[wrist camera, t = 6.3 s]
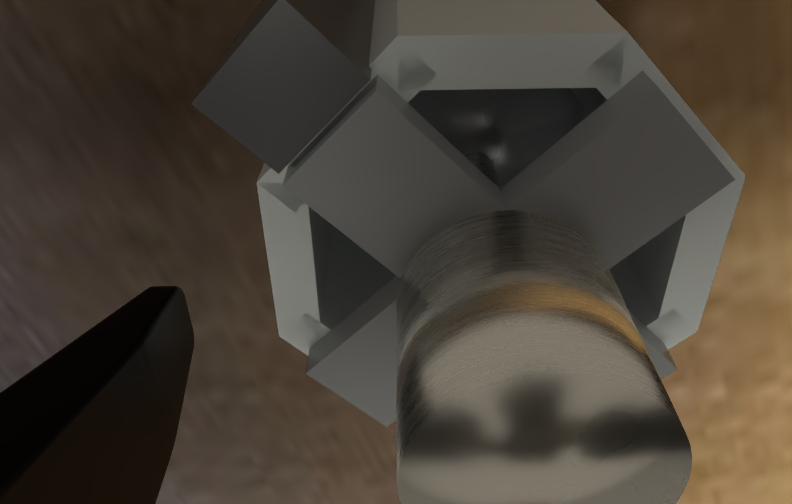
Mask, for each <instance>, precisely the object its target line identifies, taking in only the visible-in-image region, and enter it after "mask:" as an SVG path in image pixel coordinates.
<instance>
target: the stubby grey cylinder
mask: <svg viewBox="0 0 792 504" xmlns="http://www.w3.org/2000/svg"><path fill="white" fill-rule="evenodd" d="M408 103H409V104H410V105H411V106H412V107H413V108H414V109H415V110H416V111H417V112H418V113H419V114H420V115H421V116H422V117H423V118H425V119H426V120H427V121H428V122H429V123H430V124H431V125H432V126H433V127H434V128H435V129H436V130H437V131H438V132H439V133H440V134H442V135H443V136H444V137H445V138H446V139H447V140H448V141H449V142H450V143H451V144H452V145H453V146H454V147H455V148H456V149H458V150H459V151H460V152H461V153H462V154H463V155H464V156H465V157H466V158H467V159H468V160H469V161H470V162H471V163H472V164H474V165H475V166H476V167H477V168H478V169H479V170H480V171H481V172H482V173H483V174H484V175H485V176H486V177H487V178H488V179H489V180H491V181H492V182H493V183H494V184H495V185H496V186H497V187H498V188H499V189H501V188H502V187H503V186H505V185H506V184H507V183H508V182H509V181H511V180H512V179H513V178H514V177H515V176H517V175H518V174H519V173H520V172H521V171H523V170H524V169H525V168H526V167H527V166H529V165H530V164H531V163H532V162H533V161H535V160H536V159H537V158H538V157H539V156H541V155H542V154H543V153H544V152H545V151H547V150H548V149H549V148H550V147H551V146H553V145H554V144H555V143H556V142H557V141H559V140H560V139H561V138H562V137H563V136H565V135H566V134H567V133H568V132H569V131H571V130H572V129H573V128H574V127H575V126H577V125H578V124H579V123H580V122H581V121H583V120H584V119H585V118H586V117H587V113H586V111H585V109H584V108H583V106H582V104H581V102H580V100H579V99H578V97H577V95H576V94H575V92H574V91H573V89H572V88H539V89H468V90H420V91H419V92H418V93H417V94H416V95H415V96H414V97H413V98H412V99H411V100H410V101H409V102H408ZM396 405H397V490H398V497H399V500H400V503H401V504H676V502H677V501H678V499H679V498H680V496H681V495H682V493H683V491H684V489H685V487H686V485H687V483H688V480H689V476H690V472H691V467H692V453H691V447H690V443H689V440H688V438H687V435H686V433H685V430H684V428H683V426H682V424H681V422H680V420H679V418H678V416H677V413H676V411H675V409H674V407H673V405H672V403H671V401H670V398H669V396H668V394H667V392H666V390H665V388H664V386H663V383H662V381H661V379H660V377H659V375H658V373H657V371H656V368H655V366H654V364H653V362H652V360H651V358H650V356H649V353H648V351H647V349H646V347H645V345H644V343H643V341H642V338H641V336H640V334H639V332H638V330H637V328H636V326H635V323H634V321H633V319H632V317H631V315H630V313H629V311H628V308H627V306H626V304H625V302H624V300H623V298H622V296H621V293H620V291H619V289H618V287H617V285H616V283H615V281H614V279H613V276H612V274H611V272H610V270H609V268H608V266H607V264H606V261H605V259H604V257H603V256H602V254H601V252H600V251H599V249H598V248H597V246H596V245H595V244H594V243H593V242H592V241H591V239H590V238H589V237H587V236H586V235H585V234H584V233H583V232H581V231H580V230H579V229H577V228H576V227H574V226H572V225H571V224H569V223H567V222H565V221H562V220H560V219H558V218H556V217H552V216H549V215H545V214H542V213H536V212H530V211H516V210H509V211H495V212H490V213H484V214H480V215H476V216H473V217H470V218H466V219H464V220H462V221H459V222H457V223H455V224H452V225H451V226H449V227H447V228H445V229H444V230H442V231H440V232H439V233H437V234H436V235H435V236H433V237H432V238H431V239H429V240H428V241H427V242H426V243H425V244H424V245H423V246H422V247H421V248H420V249H419V250H418V251H417V252H416V253H415V254H414V256H413V257H412V258H411V259H410V261H409V263H408V264H407V266H406V268H405V269H404V271H403V274H402V276H401V279H400V281H399V285H398V290H397V297H396Z"/></svg>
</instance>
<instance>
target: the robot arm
mask: <svg viewBox="0 0 792 504" xmlns="http://www.w3.org/2000/svg"><path fill="white" fill-rule="evenodd" d="M193 348H194V333H193V328H192V324H191V320H190V315H189V311H188V307H187V303H186V299H185V295H184V293H183V291H182V289H181V288H179V287H177V286H155V287H150V288H148V289H146V290H145V291H143V292H142V293H141V294H139V295H138V296H136V297H135V298H134V299H132V300H131V301H129V302H128V303H126V304H125V305H124V306H122V307H121V308H119V309H118V310H117V311H115V312H114V313H112V314H111V315H110V316H108V317H107V318H105V319H104V320H102V321H101V322H100V323H98V324H97V325H95V326H94V327H93V328H91V329H90V330H88V331H87V332H86V333H84V334H83V335H81V336H80V337H79V338H77V339H76V340H74V341H73V342H71V343H70V344H69V345H67V346H66V347H64V348H63V349H62V350H60V351H59V352H57V353H56V354H55V355H53V356H52V357H50V358H49V359H47V360H46V361H45V362H43V363H42V364H40V365H39V366H38V367H36V368H35V369H33V370H32V371H31V372H29V373H28V374H26V375H25V376H23V377H22V378H21V379H19V380H18V381H16V382H15V383H14V384H12V385H11V386H9V387H8V388H7V389H5V390H4V391H2V392H1V393H0V504H155V503H156V500H157V497H158V494H159V491H160V488H161V485H162V482H163V479H164V476H165V473H166V469H167V466H168V463H169V460H170V457H171V453H172V450H173V447H174V443H175V439H176V434H177V430H178V425H179V420H180V414H181V409H182V404H183V399H184V394H185V389H186V384H187V379H188V374H189V369H190V364H191V358H192V353H193Z"/></svg>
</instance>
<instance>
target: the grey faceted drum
mask: <svg viewBox="0 0 792 504" xmlns="http://www.w3.org/2000/svg"><path fill="white" fill-rule="evenodd" d="M539 88H572V89H573V91H574V92H575V94H576V95H577V97H578V99H579V100H580V102H581V104H582V106H583V108H584V109H585V111H586V113H587V117H586V118H585V119H584V120H583V121H581V122H580V123H579V124H578V125H577V126H575V127H574V128H573V129H572V130H571V131H569V132H568V133H567V134H566V135H565V136H563V137H562V138H561V139H560V140H559V141H557V142H556V143H555V144H554V145H553V146H551V147H550V148H549V149H548V150H547V151H545V152H544V153H543V154H542V155H541V156H539V157H538V158H537V159H536V160H535V161H533V162H532V163H531V164H530V165H529V166H527V167H526V168H525V169H524V170H523V171H521V172H520V173H519V174H518V175H517V176H515V177H514V178H513V179H512V180H511V181H509V182H508V183H507V184H506V185H505V186H503V187H502V188H501V189H499V188H498V187H497V186H496V185H495V184H494V183H493V182H492V181H491V180H489V179H488V178H487V177H486V176H485V175H484V174H483V173H482V172H481V171H480V170H479V169H478V168H477V167H476V166H475V165H474V164H472V163H471V162H470V161H469V160H468V159H467V158H466V157H465V156H464V155H463V154H462V153H461V152H460V151H459V150H458V149H456V148H455V147H454V146H453V145H452V144H451V143H450V142H449V141H448V140H447V139H446V138H445V137H444V136H443V135H442V134H440V133H439V132H438V131H437V130H436V129H435V128H434V127H433V126H432V125H431V124H430V123H429V122H428V121H427V120H426V119H425V118H423V117H422V116H421V115H420V114H419V113H418V112H417V111H416V110H415V109H414V108H413V107H412V106H411V105H410V104H409V103H408V102H409V101H410V100H411V99H412V98H413V97H414V96H415V95H416V94H417V93H418V92H419V91H420V90H468V89H539ZM191 105H192V106H194V107H195V108H196V109H197V110H199V111H200V112H201V113H202V114H204V115H205V116H206V117H208V118H209V119H210V120H211V121H213V122H214V123H215V124H216V125H218V126H219V127H220V128H221V129H223V130H224V131H225V132H226V133H228V134H229V135H230V136H231V137H233V138H234V139H235V140H236V141H238V142H239V143H240V144H242V145H243V146H244V147H245V148H247V149H248V150H249V151H250V152H252V153H253V154H254V155H255V156H257V157H258V158H259V159H260V160H262V161H263V162H264V164H263V166H262V169H261V172H260V174H259V177H258V180H257V190H258V197H259V203H260V210H261V217H262V224H263V231H264V237H265V244H266V251H267V258H268V264H269V271H270V278H271V285H272V292H273V298H274V305H275V312H276V319H277V326H278V332H279V337H281V338H282V339H284V340H285V341H287V342H288V343H290V344H291V345H293V346H294V347H296V348H297V349H299V350H300V351H302V352H303V353H304V354H306V355H307V356H308V361H307V368H306V374H307V375H308V376H310V377H311V378H313V379H314V380H316V381H318V382H319V383H321V384H322V385H324V386H325V387H327V388H328V389H330V390H331V391H333V392H334V393H336V394H337V395H339V396H340V397H342V398H343V399H345V400H346V401H348V402H349V403H351V404H352V405H354V406H356V407H357V408H359V409H360V410H362V411H363V412H365V413H366V414H368V415H369V416H371V417H372V418H374V419H375V420H377V421H378V422H380V423H381V424H383V425H384V426H386V427H388V426H389V425H390V424H392V423H393V422H395V421H396V420H397V405H396V297H397V290H398V285H399V281H400V279H401V276H402V274H403V271H404V269H405V268H406V266H407V264H408V263H409V261H410V259H411V258H412V257H413V256H414V254H415V253H416V252H417V251H418V250H419V249H420V248H421V247H422V246H423V245H424V244H425V243H426V242H427V241H428V240H429V239H431V238H432V237H433V236H435V235H436V234H437V233H439V232H440V231H442V230H444V229H445V228H447V227H449V226H451V225H452V224H455V223H457V222H459V221H462V220H464V219H466V218H470V217H473V216H476V215H480V214H484V213H490V212H495V211H509V210H516V211H530V212H536V213H542V214H545V215H549V216H552V217H556V218H558V219H560V220H562V221H565V222H567V223H569V224H571V225H572V226H574V227H576V228H577V229H579V230H580V231H581V232H583V233H584V234H585V235H586V236H587V237H589V238H590V239H591V241H592V242H593V243H594V244H595V245H596V246H597V248H598V249H599V251H600V252H601V254H602V256H603V257H604V259H605V261H606V264H607V266H608V268H609V270H610V272H611V274H612V276H613V279H614V281H615V283H616V285H617V287H618V289H619V291H620V293H621V296H622V298H623V300H624V302H625V304H626V306H627V308H628V311H629V313H630V315H631V317H632V319H633V321H634V323H635V326H636V328H637V330H638V332H639V334H640V336H641V338H642V341H643V343H644V345H645V347H646V349H647V351H648V353H649V356H650V358H651V360H652V362H653V364H654V366H655V368H656V371H657V373H658V375H659V377H660V379H662V378H664V377H665V376H667V375H669V374H670V373H672V372H674V371H675V370H677V367H676V365H675V363H674V361H673V359H672V357H671V355H670V353H669V351H668V349H670V348H671V347H673V346H675V345H676V344H678V343H679V342H681V341H683V340H684V339H686V338H687V337H689V336H691V335H692V334H694V333H695V332H697V331H698V328H699V324H700V321H701V318H702V315H703V312H704V309H705V305H706V302H707V299H708V296H709V293H710V290H711V286H712V283H713V280H714V277H715V274H716V270H717V267H718V264H719V261H720V258H721V255H722V251H723V248H724V245H725V242H726V239H727V235H728V232H729V229H730V226H731V223H732V220H733V216H734V213H735V210H736V207H737V204H738V200H739V197H740V194H741V191H742V188H743V185H744V181H745V178H746V176H745V174H744V173H743V172H742V171H741V169H740V168H739V167H738V166H737V165H736V163H735V162H734V161H733V160H732V158H731V157H730V156H729V155H728V154H727V152H726V151H725V150H724V149H723V147H722V146H721V145H720V144H719V143H718V141H717V140H716V139H715V138H714V136H713V135H712V134H711V133H710V132H709V130H708V129H707V128H706V127H705V125H704V124H703V123H702V122H701V121H700V119H699V118H698V117H697V116H696V115H695V113H694V112H693V111H692V110H691V108H690V107H689V106H688V105H687V104H686V102H685V101H684V100H683V99H682V97H681V96H680V95H679V94H678V93H677V91H676V90H675V89H674V88H673V86H672V85H671V84H670V83H669V82H668V80H667V79H666V78H665V77H664V75H663V74H662V73H661V72H660V71H659V69H658V68H657V67H656V66H655V64H654V63H653V62H652V61H651V60H650V58H649V57H648V56H647V55H646V53H645V52H644V51H643V50H642V49H641V47H640V46H639V45H638V44H637V42H636V41H635V40H634V39H633V38H632V36H631V35H630V34H629V33H628V32H627V31H626V30H625V29H624V28H623V27H622V26H621V25H620V24H619V23H618V22H617V21H616V20H615V19H614V18H613V17H612V16H611V15H610V14H608V12H607V11H606V10H605V9H604V8H603V7H602V6H601V5H600V4H599V3H598V2H597V1H596V0H263V1H262V2H261V3H260V5H259V6H258V7H257V8H256V10H255V11H254V13H253V14H252V15H251V17H250V18H249V20H248V21H247V23H246V24H245V26H244V27H243V29H242V30H241V32H240V33H239V34H238V36H237V37H236V39H235V40H234V42H233V43H232V45H231V46H230V48H229V49H228V50H227V52H226V53H225V55H224V56H223V58H222V59H221V61H220V62H219V64H218V65H217V67H216V68H215V69H214V71H213V72H212V74H211V75H210V77H209V78H208V80H207V81H206V83H205V84H204V85H203V87H202V88H201V90H200V91H199V93H198V94H197V96H196V97H195V99H194V100H193V102H192V103H191Z"/></svg>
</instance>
